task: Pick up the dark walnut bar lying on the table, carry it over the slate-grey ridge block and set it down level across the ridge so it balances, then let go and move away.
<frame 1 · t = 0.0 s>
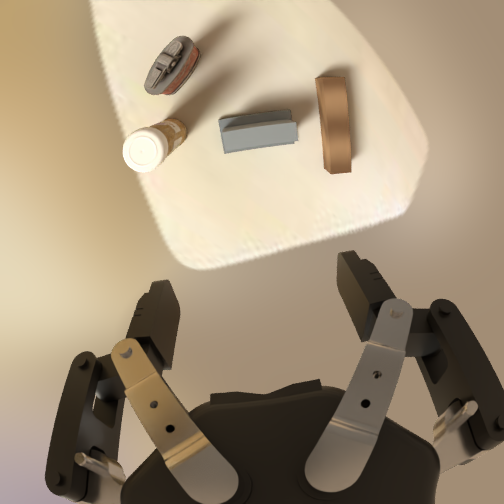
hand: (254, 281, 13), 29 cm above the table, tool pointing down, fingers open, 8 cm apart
fulcrum: (256, 130, 36), on the table
lighter: (180, 70, 30), on the table
sprinkles bottle: (171, 133, 35), on the table
walnut bar: (330, 122, 36), on the table
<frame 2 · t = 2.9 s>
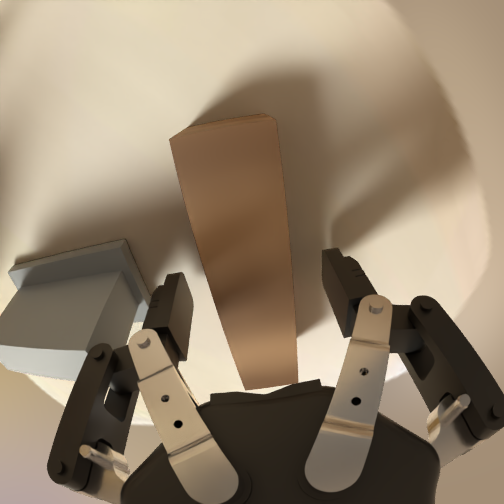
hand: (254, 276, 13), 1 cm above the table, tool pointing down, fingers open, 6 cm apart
fulcrum: (75, 287, 14), on the table
walnut bar: (250, 257, 14), on the table
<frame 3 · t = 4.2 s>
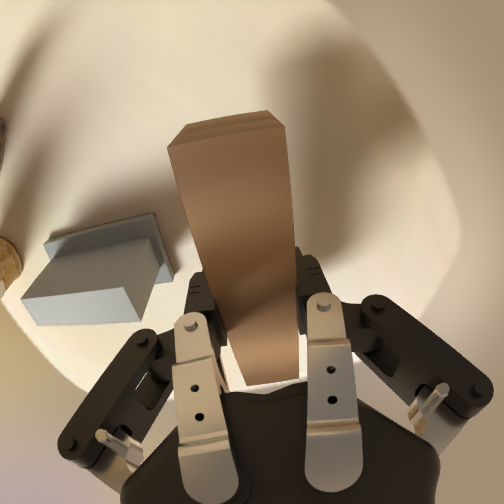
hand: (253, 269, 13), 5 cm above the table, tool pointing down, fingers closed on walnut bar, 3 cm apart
fulcrum: (105, 256, 18), on the table
sprinkles bottle: (9, 256, 18), on the table
walnut bar: (252, 257, 14), point 4 cm above the table, tilted 6°, touching gripper
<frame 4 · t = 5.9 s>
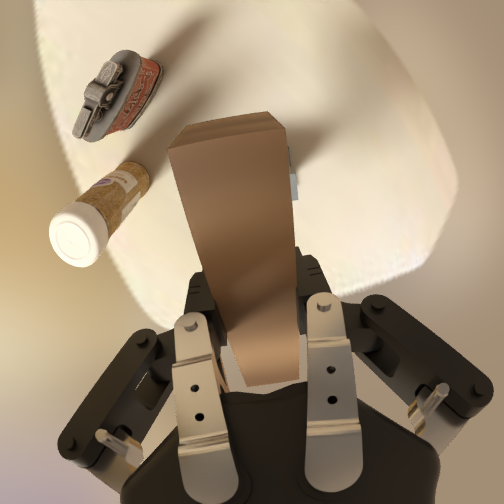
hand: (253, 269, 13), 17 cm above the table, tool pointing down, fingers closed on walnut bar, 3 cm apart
lighter: (137, 95, 22), on the table
sprinkles bottle: (131, 180, 27), on the table
walnut bar: (252, 258, 14), point 16 cm above the table, touching gripper
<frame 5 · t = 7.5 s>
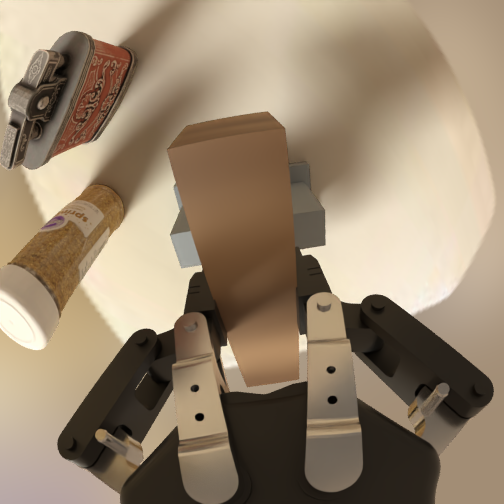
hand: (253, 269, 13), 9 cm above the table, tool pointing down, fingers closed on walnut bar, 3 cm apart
fulcrum: (245, 201, 21), on the table
lighter: (104, 95, 15), on the table
sprinkles bottle: (102, 207, 20), on the table
walnut bar: (252, 258, 14), point 8 cm above the table, touching gripper
when the fingers open (7 cm above the table, at t = 8.4 s): walnut bar stays where it is, resting on fulcrum.
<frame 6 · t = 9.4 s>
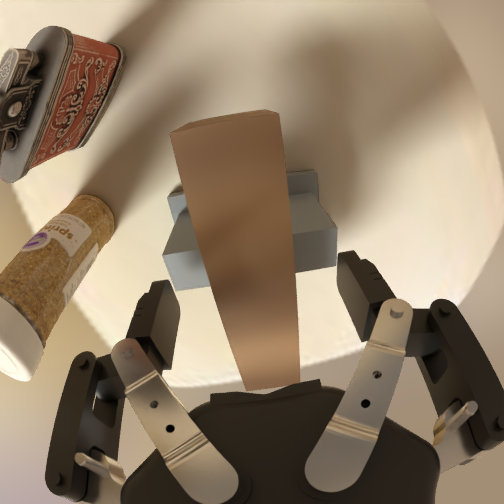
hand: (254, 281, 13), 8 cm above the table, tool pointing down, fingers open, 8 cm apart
fulcrum: (246, 213, 19), on the table
lighter: (92, 96, 14), on the table
sprinkles bottle: (92, 218, 19), on the table
walnut bar: (251, 256, 14), point 6 cm above the table, touching fulcrum
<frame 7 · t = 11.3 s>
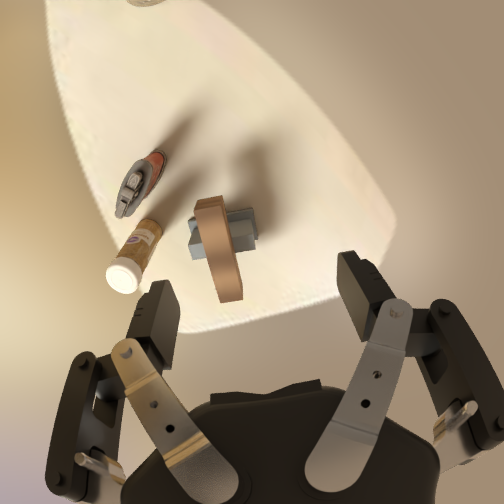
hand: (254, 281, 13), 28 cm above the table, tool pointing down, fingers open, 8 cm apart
fulcrum: (223, 228, 42), on the table
lighter: (150, 174, 37), on the table
sprinkles bottle: (149, 230, 42), on the table
walnut bar: (221, 245, 37), point 6 cm above the table, touching fulcrum
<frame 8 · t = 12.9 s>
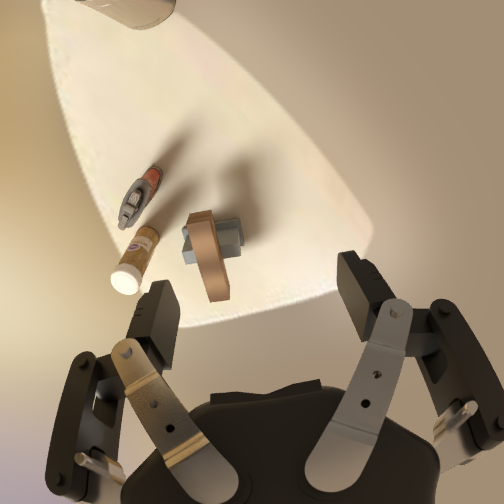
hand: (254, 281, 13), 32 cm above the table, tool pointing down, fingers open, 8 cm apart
fulcrum: (213, 235, 47), on the table
lighter: (147, 187, 42), on the table
sprinkles bottle: (147, 236, 47), on the table
walnut bar: (210, 252, 42), point 6 cm above the table, touching fulcrum
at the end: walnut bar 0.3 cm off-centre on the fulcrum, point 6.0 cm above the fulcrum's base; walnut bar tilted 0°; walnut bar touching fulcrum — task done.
